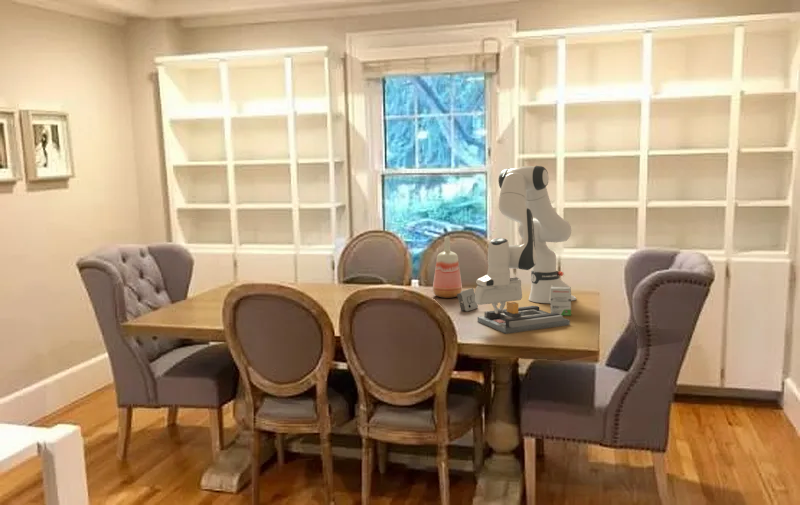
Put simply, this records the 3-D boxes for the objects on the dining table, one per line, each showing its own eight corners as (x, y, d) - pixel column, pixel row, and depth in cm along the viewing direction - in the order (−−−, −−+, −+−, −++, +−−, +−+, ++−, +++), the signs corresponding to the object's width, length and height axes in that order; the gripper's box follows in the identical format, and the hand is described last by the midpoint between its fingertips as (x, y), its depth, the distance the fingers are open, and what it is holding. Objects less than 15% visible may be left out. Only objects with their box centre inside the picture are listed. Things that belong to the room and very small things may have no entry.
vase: (467, 295, 332) (466, 236, 327) (453, 300, 320) (453, 239, 315) (441, 292, 339) (441, 234, 335) (427, 297, 327) (426, 237, 323)
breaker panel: (538, 313, 289) (538, 304, 288) (569, 324, 268) (569, 315, 268) (477, 321, 277) (477, 312, 277) (505, 333, 257) (505, 323, 257)
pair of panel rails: (533, 310, 287) (533, 304, 286) (563, 320, 267) (563, 314, 267) (484, 316, 278) (484, 310, 277) (511, 327, 258) (511, 321, 258)
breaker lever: (512, 317, 274) (512, 300, 273) (520, 320, 269) (520, 303, 268) (504, 318, 273) (504, 301, 272) (512, 321, 267) (512, 304, 266)
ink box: (571, 313, 288) (571, 286, 287) (571, 315, 284) (571, 288, 282) (550, 312, 290) (550, 286, 289) (550, 315, 286) (550, 288, 284)
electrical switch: (467, 312, 295) (465, 291, 294) (457, 311, 298) (455, 291, 297) (478, 308, 302) (476, 288, 301) (468, 308, 305) (467, 288, 305)
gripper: (516, 275, 273) (516, 308, 275) (472, 280, 265) (473, 314, 267) (525, 278, 267) (525, 311, 269) (480, 282, 259) (480, 317, 261)
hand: (498, 313), depth 268 cm, fingers closed
